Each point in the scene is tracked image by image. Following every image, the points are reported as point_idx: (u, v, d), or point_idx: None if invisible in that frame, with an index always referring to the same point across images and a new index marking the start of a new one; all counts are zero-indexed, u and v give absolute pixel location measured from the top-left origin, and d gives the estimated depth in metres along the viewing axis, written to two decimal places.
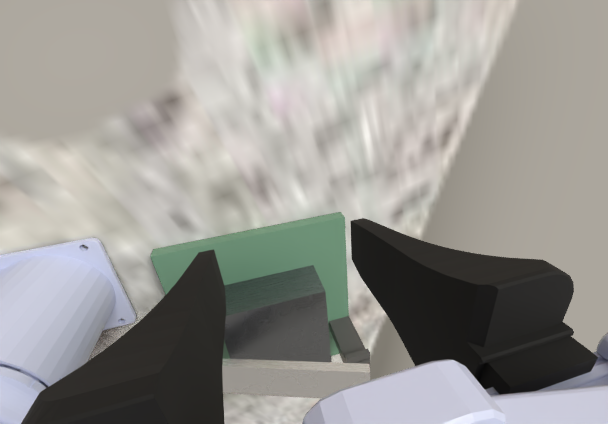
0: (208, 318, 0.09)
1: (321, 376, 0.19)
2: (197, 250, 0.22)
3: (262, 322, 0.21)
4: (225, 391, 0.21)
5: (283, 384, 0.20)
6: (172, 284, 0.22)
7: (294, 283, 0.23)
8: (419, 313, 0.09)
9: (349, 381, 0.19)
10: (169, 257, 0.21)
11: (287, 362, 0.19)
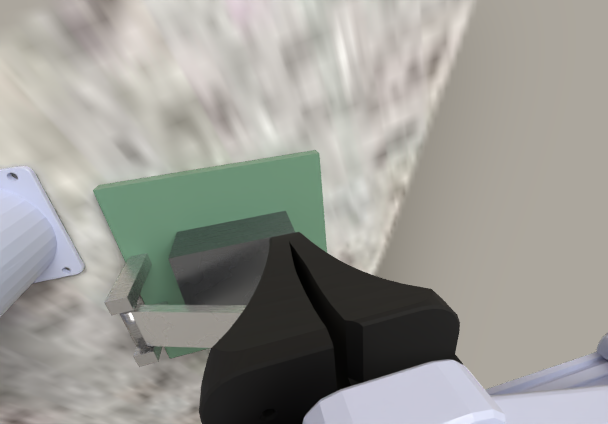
0: None
1: None
2: (148, 185, 0.19)
3: (223, 267, 0.19)
4: (179, 344, 0.18)
5: None
6: (122, 226, 0.20)
7: (261, 226, 0.20)
8: None
9: None
10: (115, 192, 0.19)
11: None
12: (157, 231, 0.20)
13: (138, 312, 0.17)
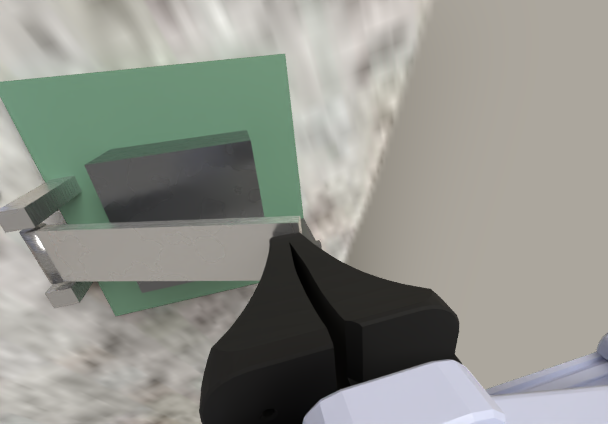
0: None
1: (228, 237, 0.12)
2: (67, 81, 0.15)
3: (159, 183, 0.15)
4: (102, 277, 0.14)
5: (178, 258, 0.13)
6: (37, 137, 0.16)
7: (212, 139, 0.16)
8: None
9: None
10: (24, 88, 0.15)
11: (180, 221, 0.13)
12: (84, 147, 0.17)
13: (43, 231, 0.14)
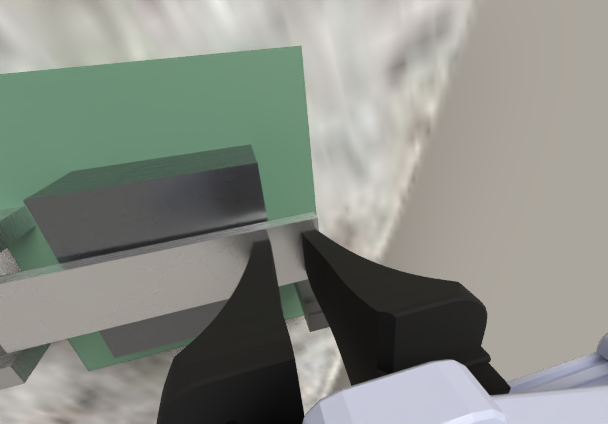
0: None
1: (244, 246, 0.12)
2: (7, 82, 0.11)
3: (133, 221, 0.11)
4: (72, 332, 0.11)
5: (183, 283, 0.12)
6: None
7: (205, 159, 0.12)
8: (348, 333, 0.08)
9: (289, 244, 0.12)
10: None
11: (182, 240, 0.11)
12: (37, 168, 0.12)
13: None
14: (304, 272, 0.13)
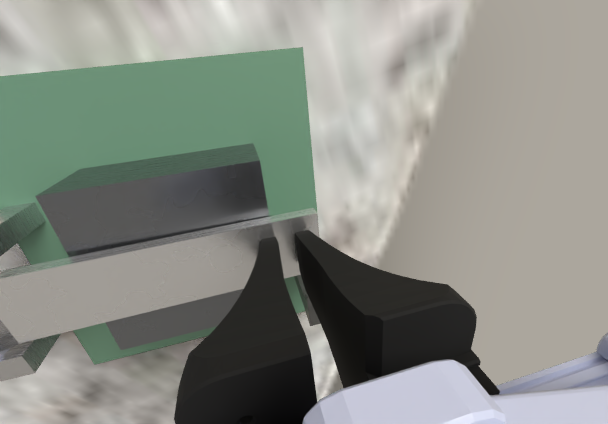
0: None
1: (247, 240, 0.12)
2: (19, 83, 0.12)
3: (139, 217, 0.11)
4: (81, 323, 0.12)
5: (187, 276, 0.12)
6: None
7: (209, 157, 0.13)
8: (339, 335, 0.08)
9: (290, 239, 0.13)
10: None
11: (187, 234, 0.12)
12: (46, 166, 0.13)
13: None
14: None
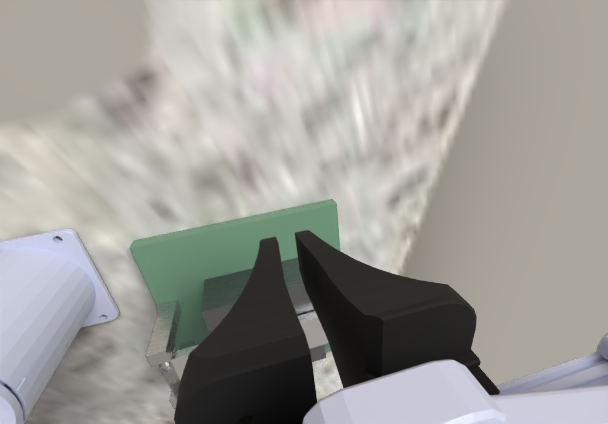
0: None
1: (308, 325, 0.21)
2: (180, 241, 0.20)
3: None
4: None
5: None
6: (155, 277, 0.21)
7: (284, 275, 0.22)
8: (339, 335, 0.08)
9: None
10: (150, 248, 0.20)
11: None
12: (187, 280, 0.22)
13: (178, 358, 0.19)
14: None
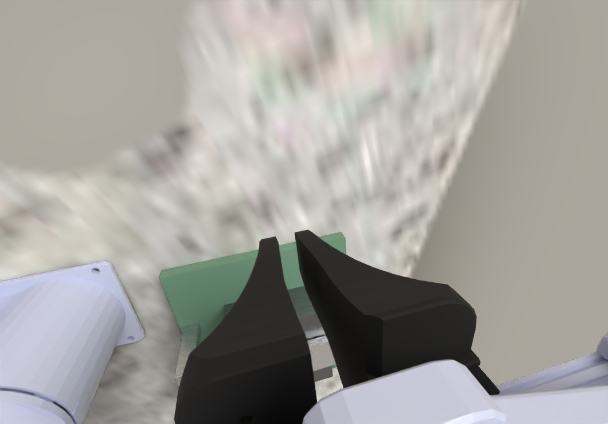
0: None
1: (318, 349, 0.23)
2: (204, 271, 0.23)
3: None
4: None
5: None
6: (179, 303, 0.23)
7: (297, 302, 0.24)
8: (339, 335, 0.08)
9: None
10: (177, 278, 0.22)
11: None
12: (208, 305, 0.24)
13: None
14: None
